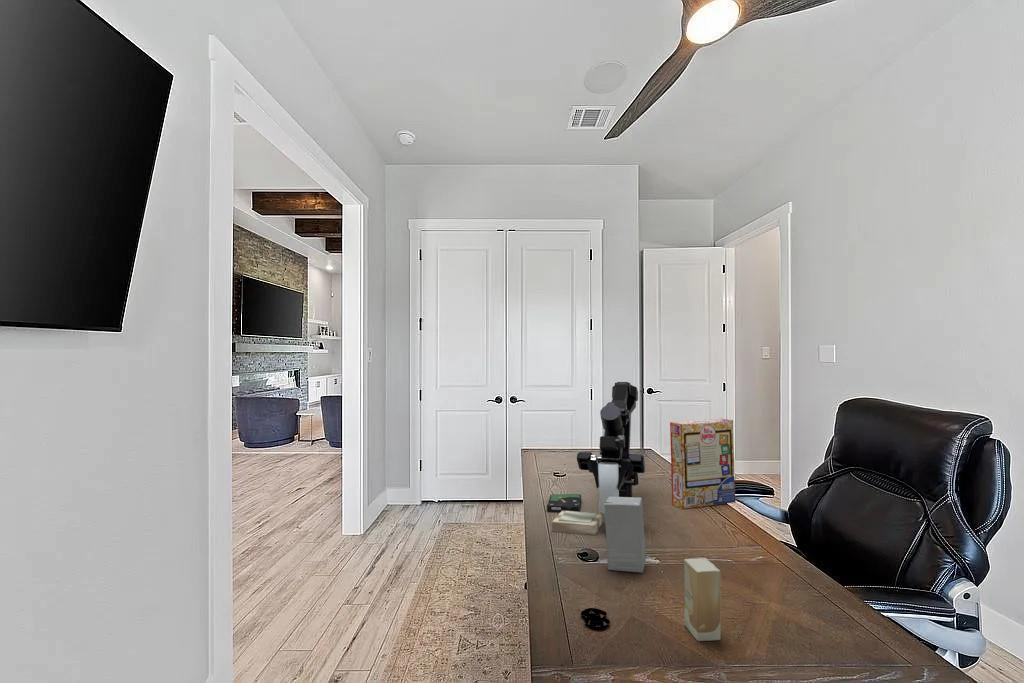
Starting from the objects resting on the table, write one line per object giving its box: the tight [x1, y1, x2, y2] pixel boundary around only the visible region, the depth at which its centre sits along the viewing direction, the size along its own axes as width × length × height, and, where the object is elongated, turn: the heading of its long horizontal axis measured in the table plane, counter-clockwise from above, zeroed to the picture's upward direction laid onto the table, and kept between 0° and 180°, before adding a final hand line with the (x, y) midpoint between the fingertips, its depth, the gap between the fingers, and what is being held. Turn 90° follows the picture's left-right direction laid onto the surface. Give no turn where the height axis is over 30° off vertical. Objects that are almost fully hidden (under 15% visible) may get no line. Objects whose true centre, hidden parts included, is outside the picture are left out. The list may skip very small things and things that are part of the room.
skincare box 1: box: [604, 496, 647, 574], centre depth 134 cm, size 8×7×16 cm
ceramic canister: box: [598, 462, 619, 514], centre depth 160 cm, size 6×6×13 cm
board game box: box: [669, 417, 736, 510], centre depth 187 cm, size 20×6×27 cm, turn 108°
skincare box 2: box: [683, 557, 722, 642], centre depth 103 cm, size 6×4×12 cm
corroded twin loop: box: [580, 607, 611, 631], centre depth 108 cm, size 5×8×1 cm, turn 4°
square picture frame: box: [551, 510, 603, 536], centre depth 165 cm, size 12×12×3 cm
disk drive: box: [546, 493, 582, 514], centre depth 186 cm, size 10×3×15 cm
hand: (607, 488), depth 158 cm, fingers closed on ceramic canister, 5 cm apart
